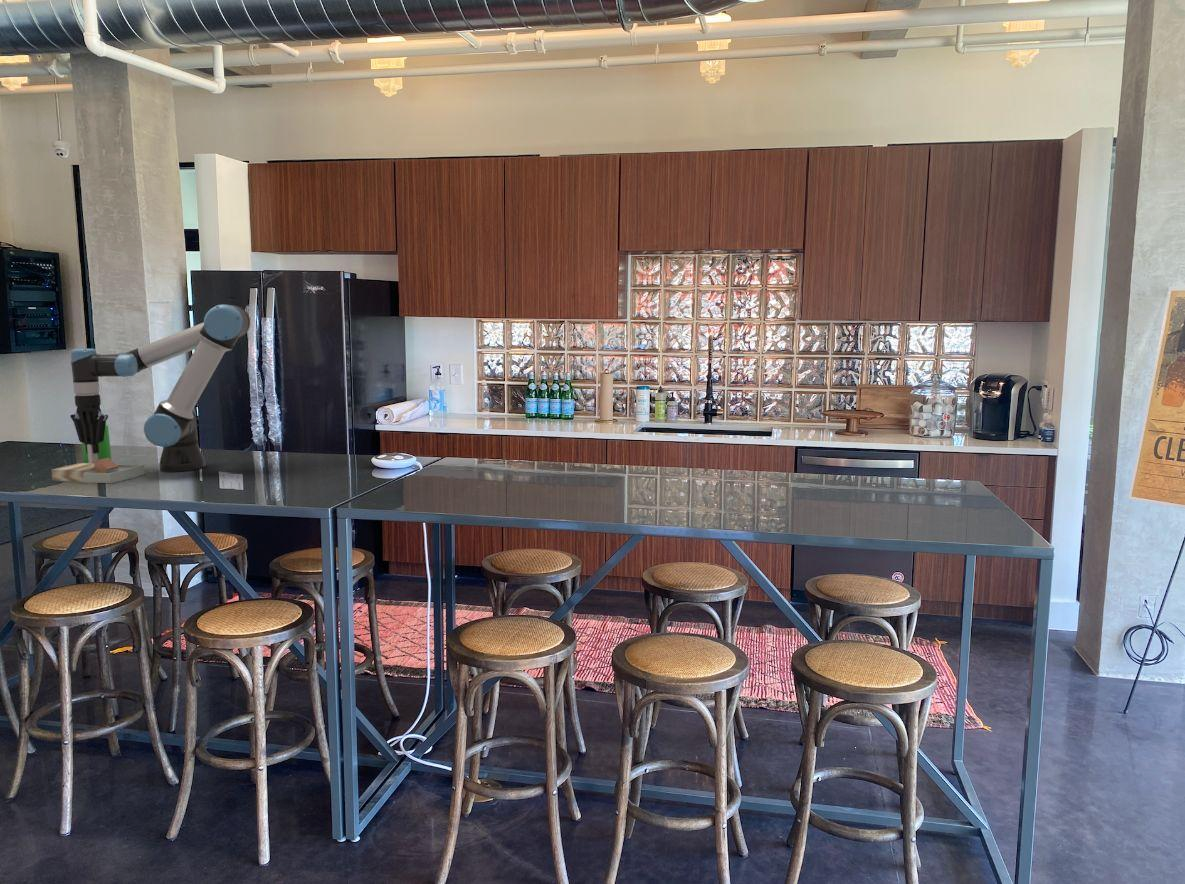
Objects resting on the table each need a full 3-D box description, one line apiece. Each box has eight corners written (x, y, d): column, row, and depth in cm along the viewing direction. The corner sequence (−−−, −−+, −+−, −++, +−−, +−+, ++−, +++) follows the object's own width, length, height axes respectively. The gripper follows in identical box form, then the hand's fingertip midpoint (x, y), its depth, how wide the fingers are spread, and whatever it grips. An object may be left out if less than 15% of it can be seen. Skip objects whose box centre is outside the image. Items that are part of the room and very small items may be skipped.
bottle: (103, 471, 310) (95, 402, 306) (79, 471, 310) (71, 402, 306) (117, 466, 318) (110, 399, 314) (94, 466, 319) (86, 399, 315)
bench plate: (114, 475, 302) (113, 463, 301) (88, 482, 290) (86, 470, 289) (79, 474, 304) (78, 463, 304) (52, 481, 293) (51, 469, 292)
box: (144, 474, 301) (143, 464, 301) (111, 483, 286) (110, 473, 285) (119, 474, 303) (117, 464, 303) (84, 483, 288) (83, 473, 287)
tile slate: (118, 467, 296) (119, 476, 297) (107, 470, 292) (108, 478, 292) (130, 467, 296) (131, 476, 296) (120, 470, 291) (121, 479, 291)
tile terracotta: (115, 473, 297) (118, 466, 296) (104, 475, 292) (108, 468, 291) (104, 464, 297) (107, 457, 297) (93, 467, 293) (96, 460, 292)
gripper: (112, 393, 294) (118, 461, 298) (78, 393, 296) (85, 460, 300) (95, 395, 287) (102, 465, 290) (61, 395, 289) (68, 464, 293)
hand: (93, 462), depth 295 cm, fingers closed
